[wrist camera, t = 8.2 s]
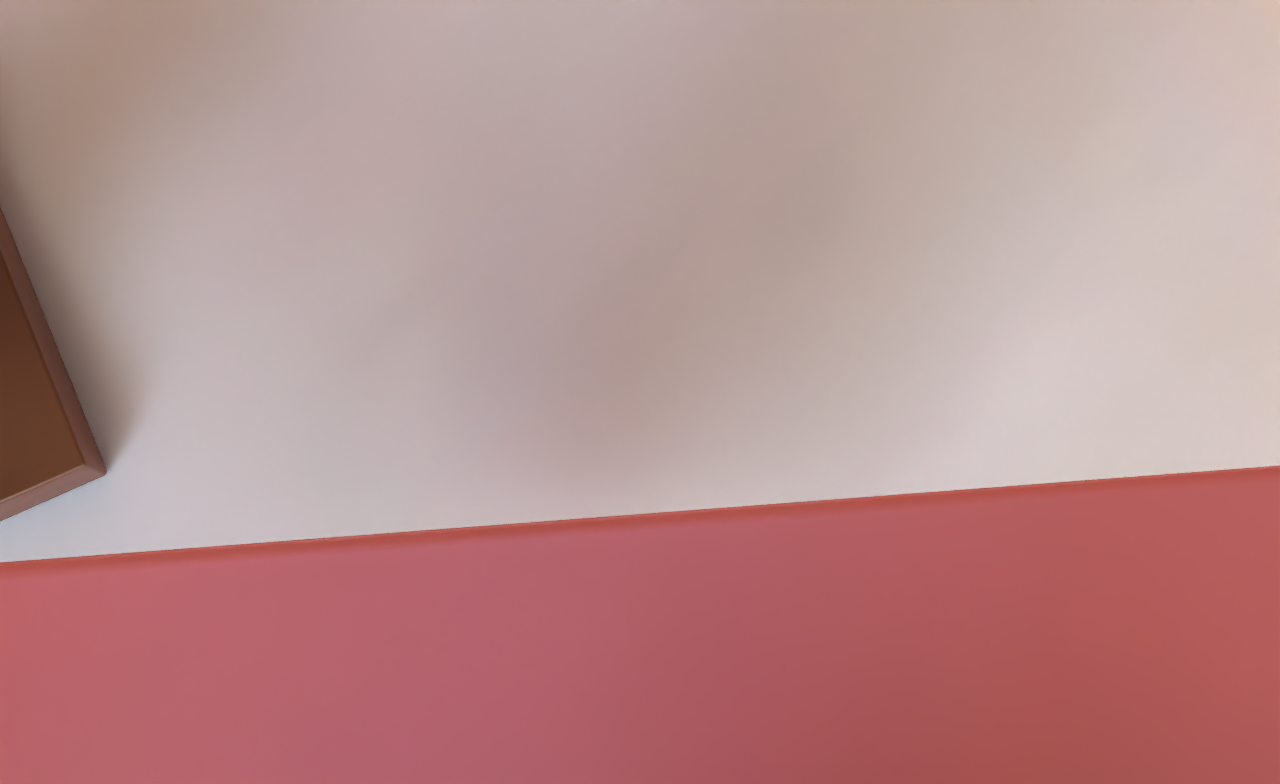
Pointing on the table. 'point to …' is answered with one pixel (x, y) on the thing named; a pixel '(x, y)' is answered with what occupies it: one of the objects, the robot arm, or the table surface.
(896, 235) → the table surface
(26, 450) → the stand
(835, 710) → the pink tunnel block
